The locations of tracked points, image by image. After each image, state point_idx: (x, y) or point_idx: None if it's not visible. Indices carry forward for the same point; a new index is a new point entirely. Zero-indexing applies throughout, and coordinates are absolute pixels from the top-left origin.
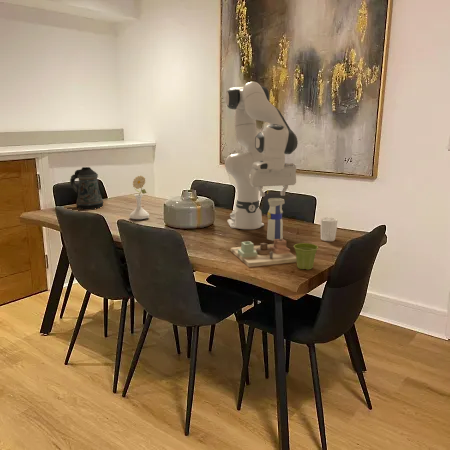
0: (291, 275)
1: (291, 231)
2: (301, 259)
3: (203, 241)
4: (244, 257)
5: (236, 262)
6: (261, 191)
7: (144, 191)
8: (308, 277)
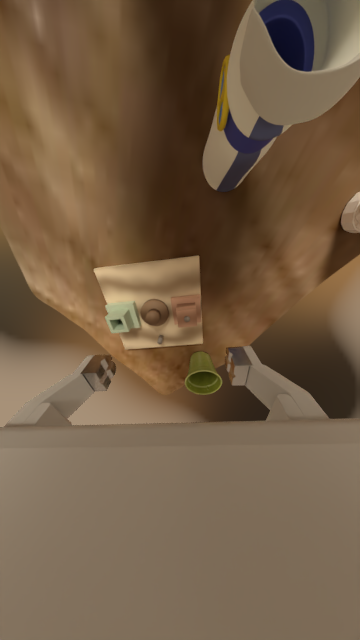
0: (173, 374)
1: None
2: (191, 375)
3: (7, 152)
4: None
5: None
6: (77, 401)
7: None
8: None
